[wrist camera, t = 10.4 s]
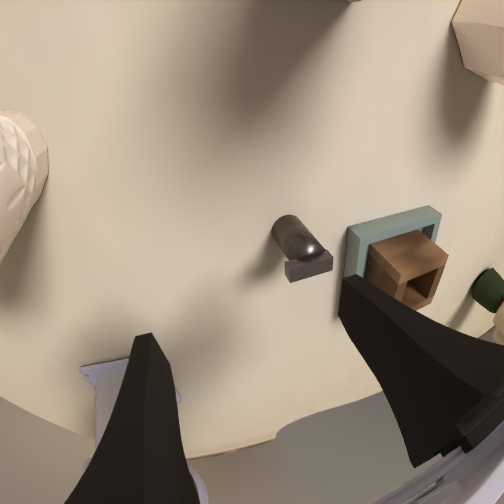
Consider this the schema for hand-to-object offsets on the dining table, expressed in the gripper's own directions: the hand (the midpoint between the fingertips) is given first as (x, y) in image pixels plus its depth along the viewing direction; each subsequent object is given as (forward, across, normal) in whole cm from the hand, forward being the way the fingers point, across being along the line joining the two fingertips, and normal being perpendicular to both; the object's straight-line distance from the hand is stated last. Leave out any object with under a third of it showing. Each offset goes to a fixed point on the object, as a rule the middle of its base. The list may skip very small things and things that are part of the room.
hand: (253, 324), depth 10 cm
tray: (+10, -15, +9) cm, 20 cm away
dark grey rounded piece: (+10, -5, +3) cm, 11 cm away
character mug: (+10, -40, +22) cm, 47 cm away
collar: (+9, -15, +9) cm, 20 cm away
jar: (+10, -26, -13) cm, 31 cm away
